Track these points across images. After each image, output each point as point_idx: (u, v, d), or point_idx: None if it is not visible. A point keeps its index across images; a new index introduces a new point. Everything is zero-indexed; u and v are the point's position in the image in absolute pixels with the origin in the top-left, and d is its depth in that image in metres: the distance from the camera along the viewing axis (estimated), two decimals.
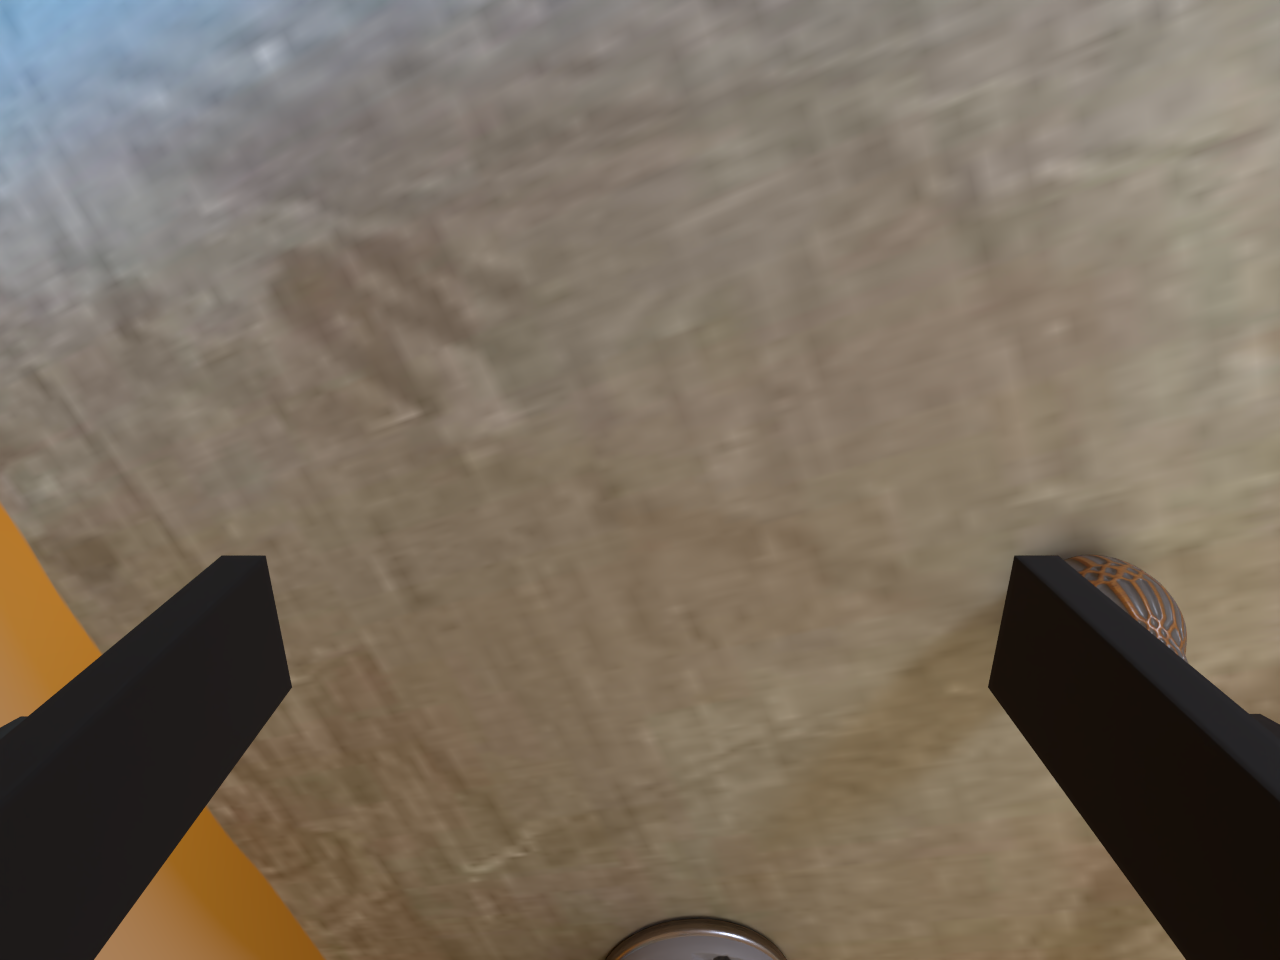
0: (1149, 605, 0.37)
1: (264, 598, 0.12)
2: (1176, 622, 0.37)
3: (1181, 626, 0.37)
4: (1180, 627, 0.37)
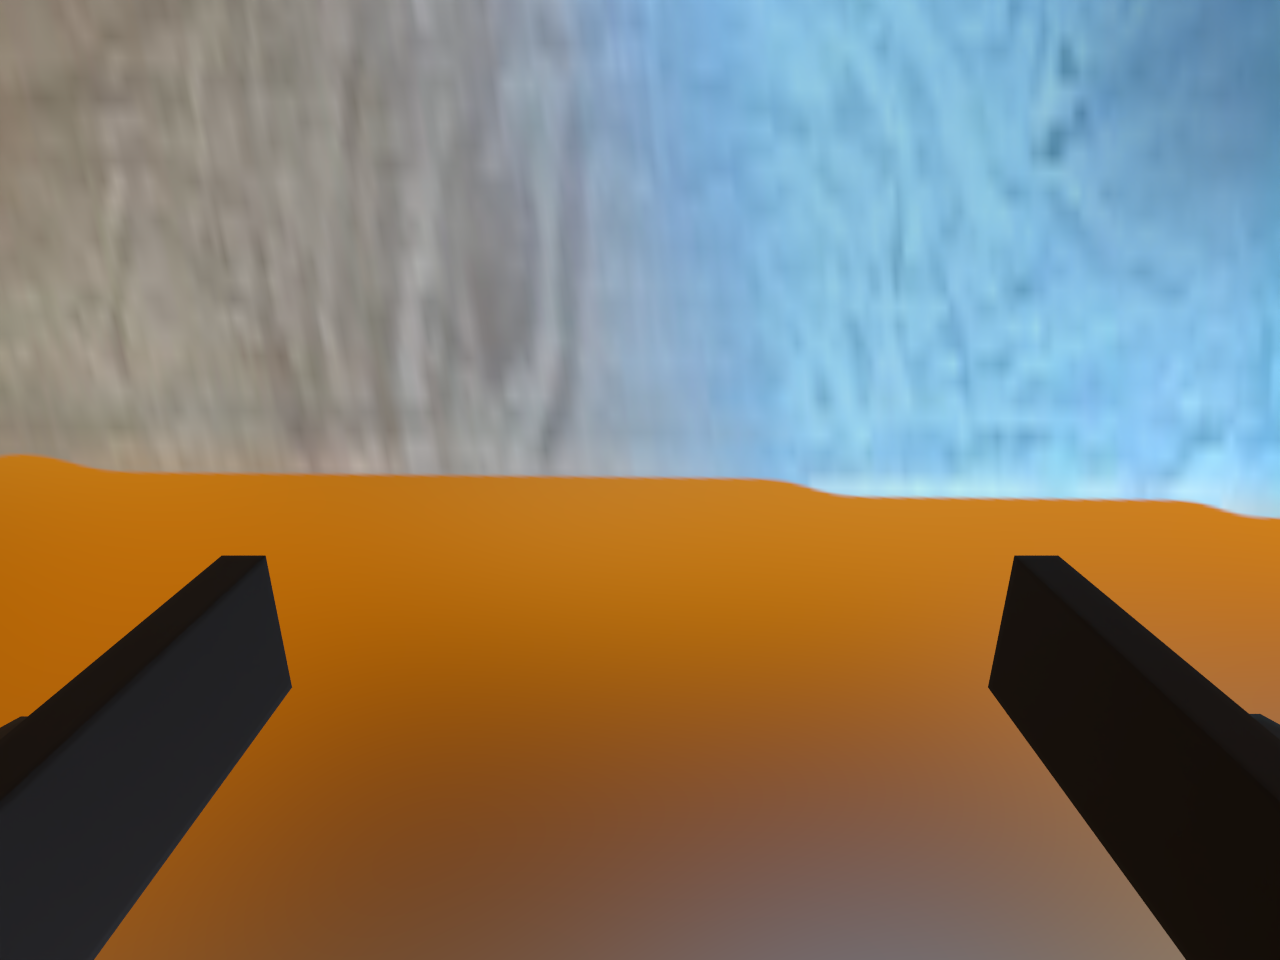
0: None
1: (265, 599, 0.12)
2: None
3: None
4: None
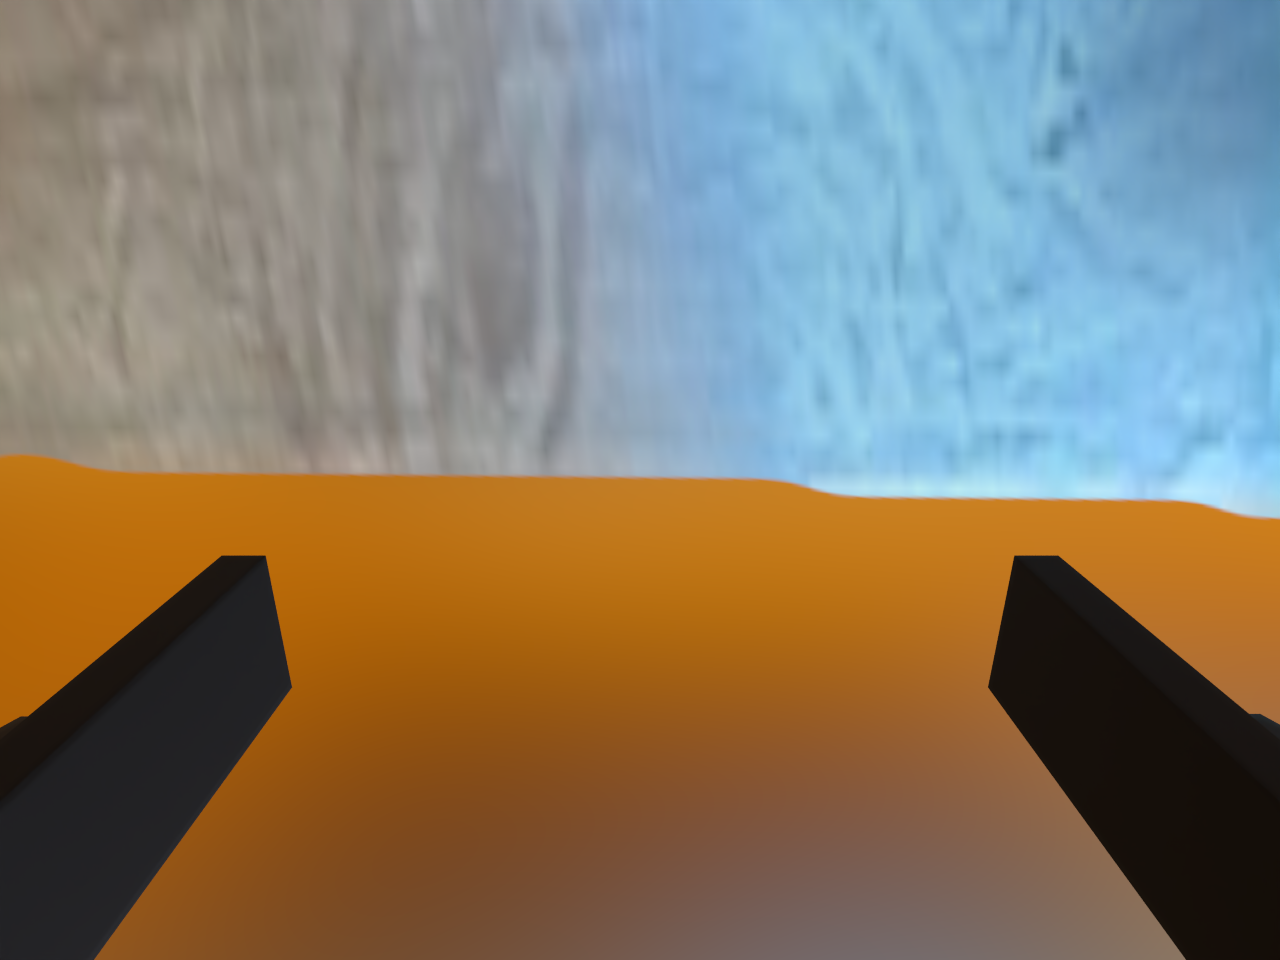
0: None
1: (265, 599, 0.12)
2: None
3: None
4: None
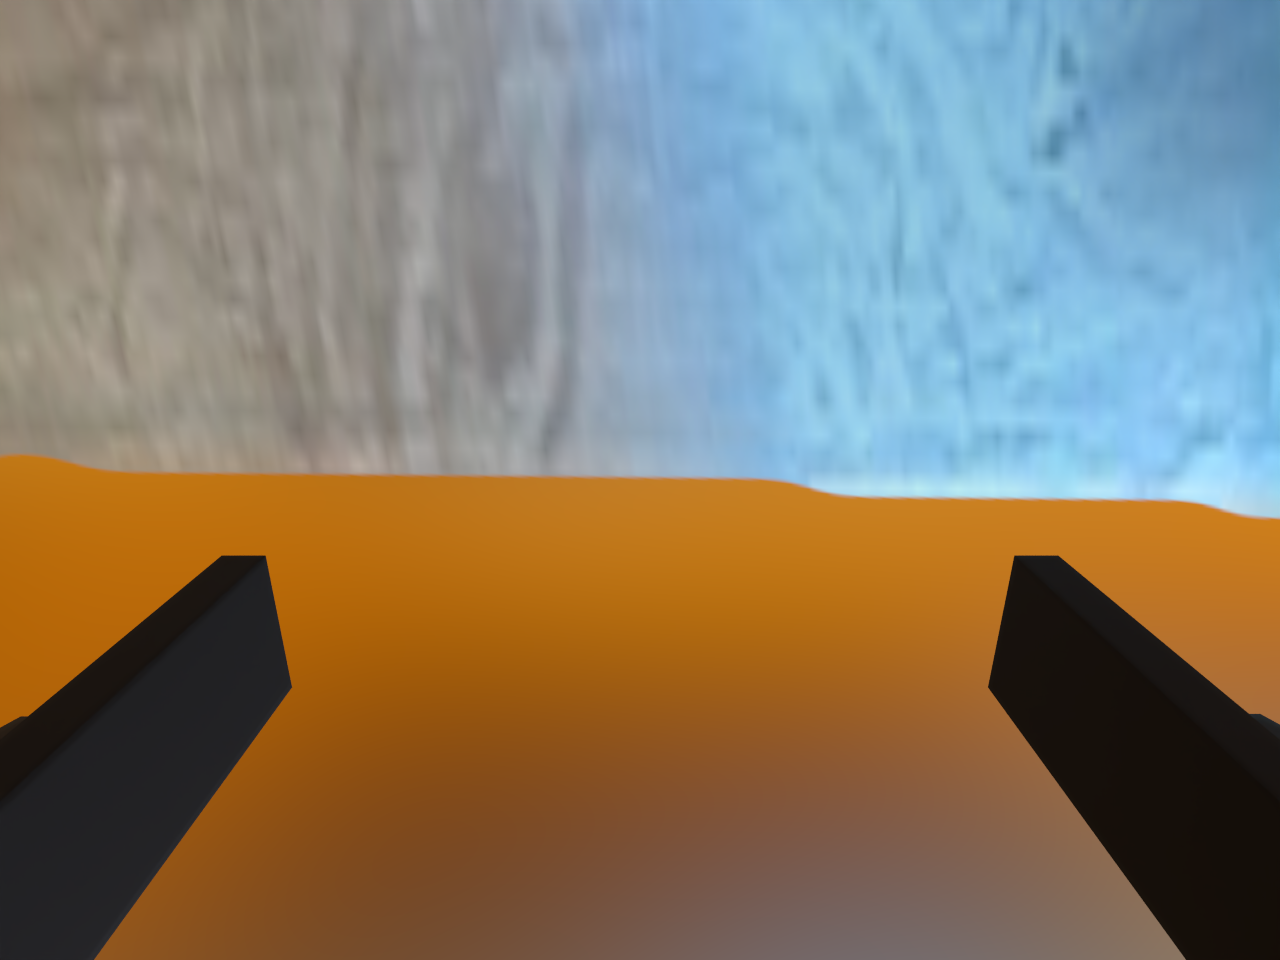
0: None
1: (265, 599, 0.12)
2: None
3: None
4: None
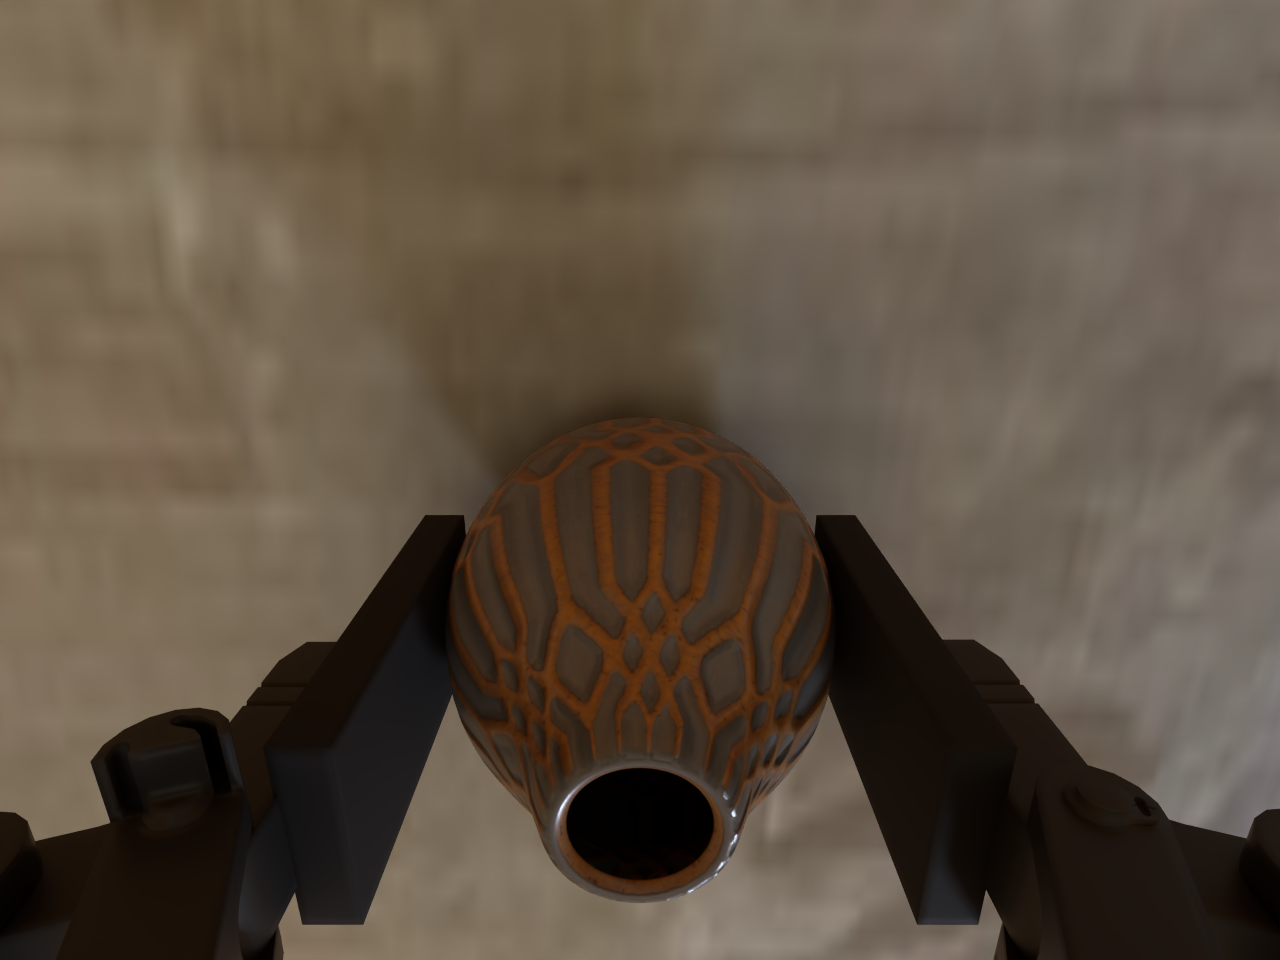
0: (795, 762, 0.11)
1: None
2: None
3: None
4: None
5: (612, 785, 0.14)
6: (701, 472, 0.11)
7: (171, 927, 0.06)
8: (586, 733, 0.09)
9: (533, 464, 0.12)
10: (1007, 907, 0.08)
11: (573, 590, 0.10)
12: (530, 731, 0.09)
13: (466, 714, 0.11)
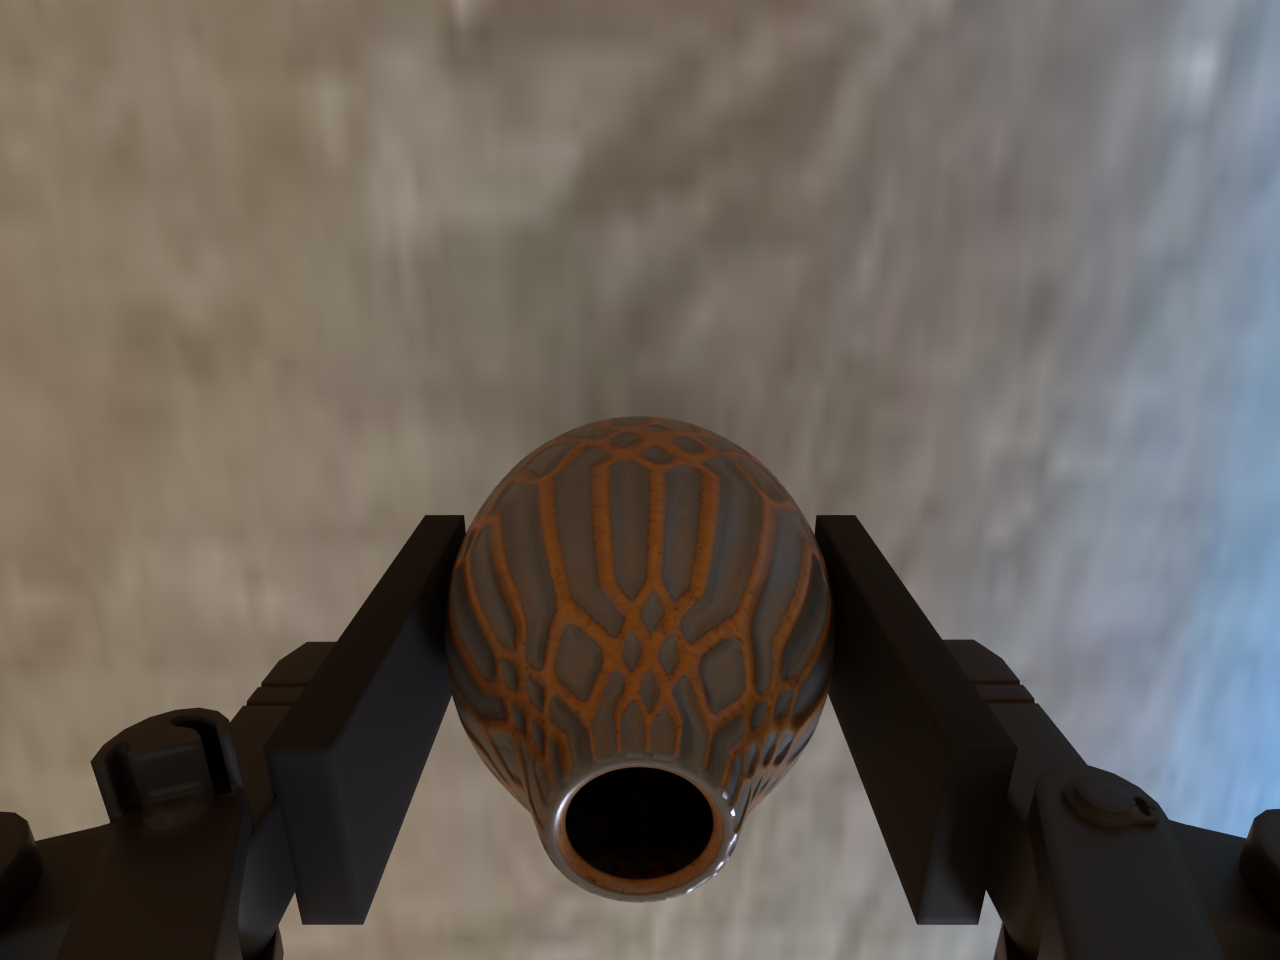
0: (794, 761, 0.11)
1: None
2: None
3: None
4: (694, 837, 0.11)
5: (611, 784, 0.14)
6: (700, 471, 0.11)
7: (171, 927, 0.06)
8: (586, 731, 0.09)
9: (532, 463, 0.12)
10: (1007, 907, 0.08)
11: (572, 589, 0.10)
12: (529, 730, 0.09)
13: (465, 713, 0.11)
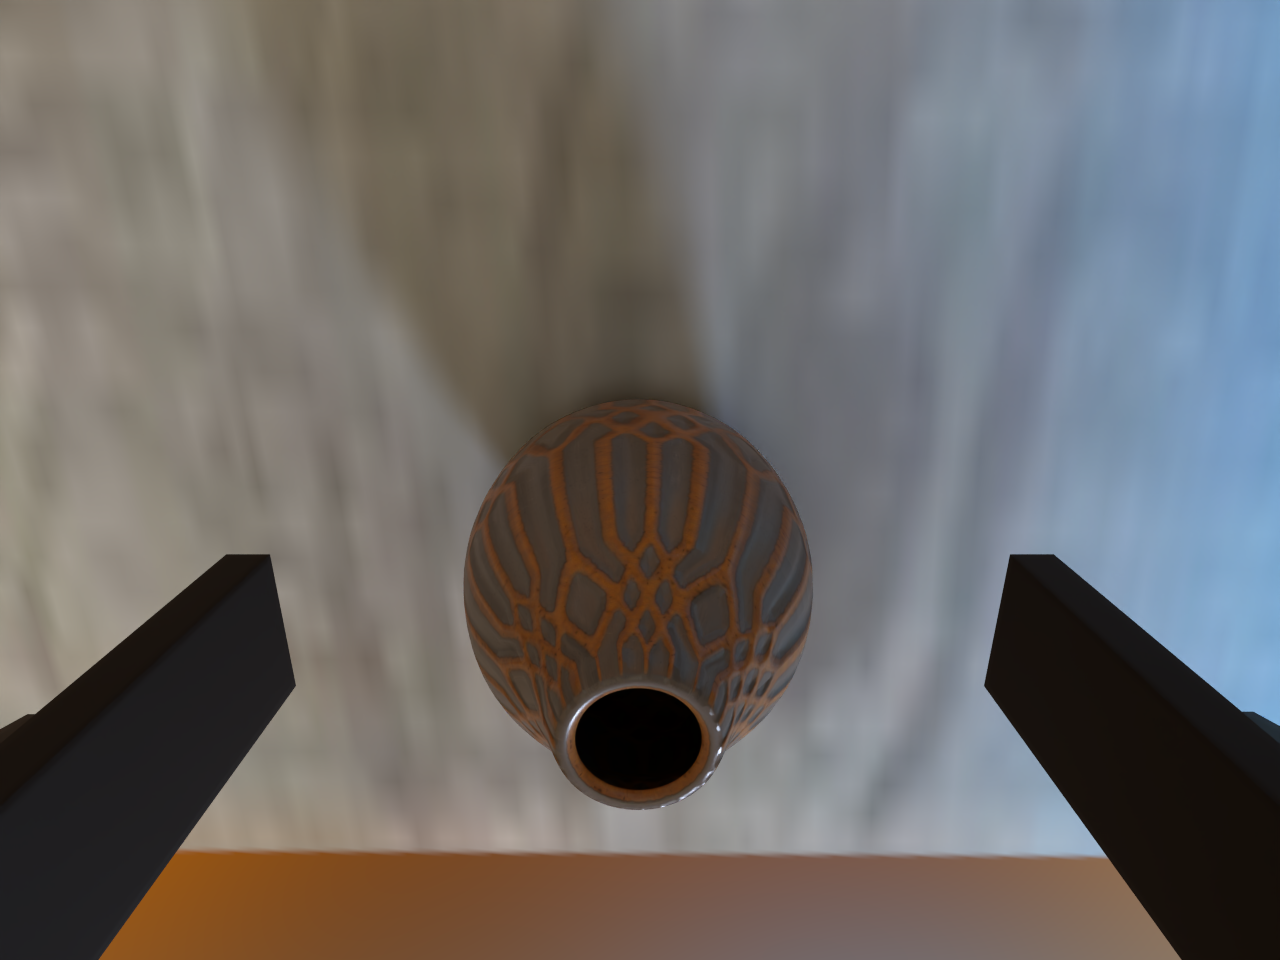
0: (775, 700, 0.13)
1: (269, 596, 0.12)
2: None
3: None
4: (687, 767, 0.13)
5: (613, 732, 0.15)
6: (692, 444, 0.13)
7: None
8: (593, 659, 0.10)
9: (542, 439, 0.14)
10: None
11: (580, 542, 0.11)
12: (543, 663, 0.11)
13: (484, 657, 0.12)
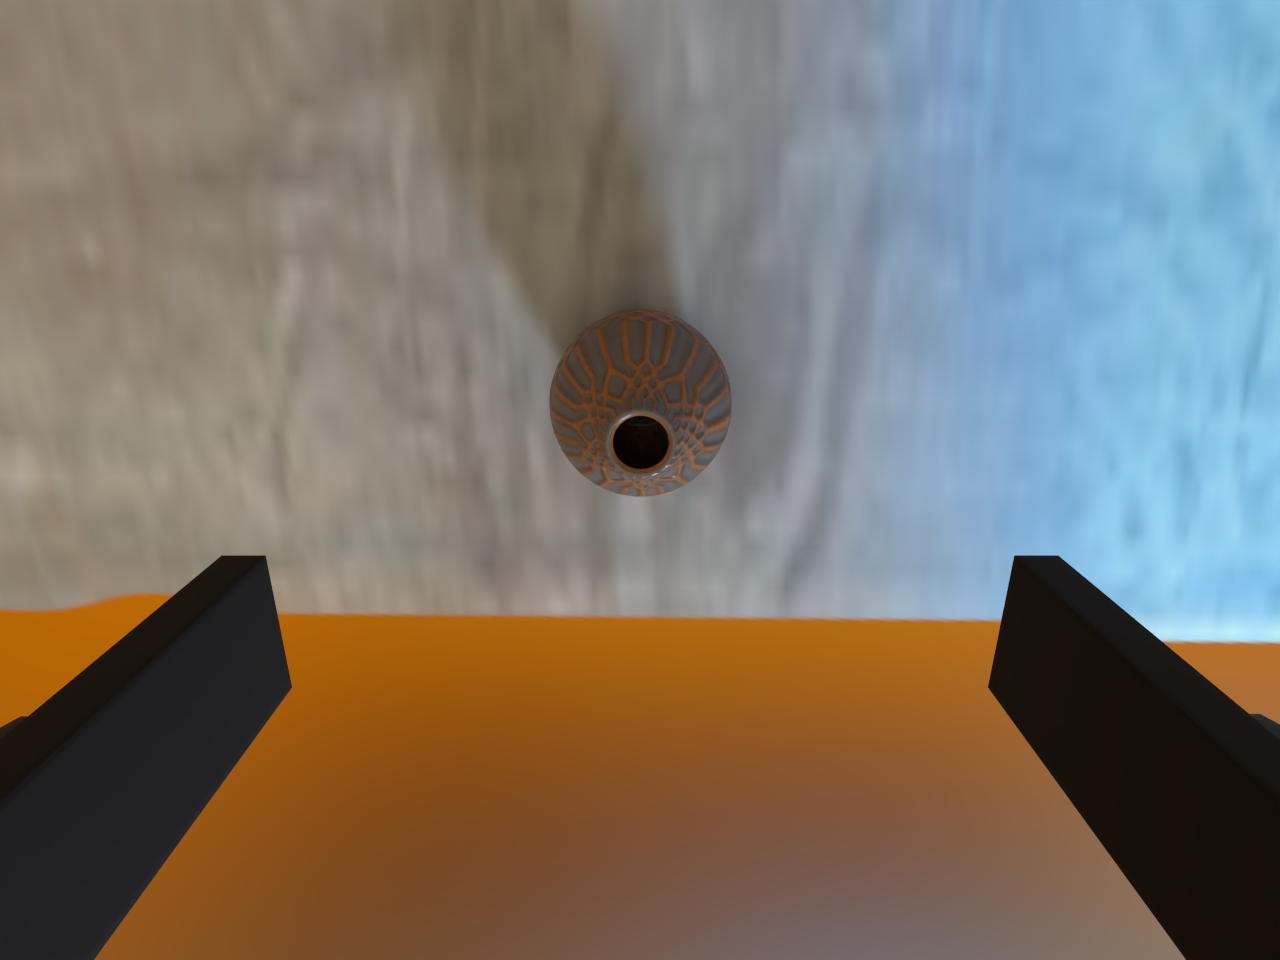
0: (708, 451, 0.26)
1: (264, 598, 0.12)
2: (675, 480, 0.26)
3: (663, 486, 0.26)
4: (664, 484, 0.26)
5: None
6: (667, 324, 0.26)
7: None
8: (620, 405, 0.23)
9: (591, 326, 0.27)
10: None
11: (613, 363, 0.24)
12: (597, 414, 0.24)
13: (565, 427, 0.25)
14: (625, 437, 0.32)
